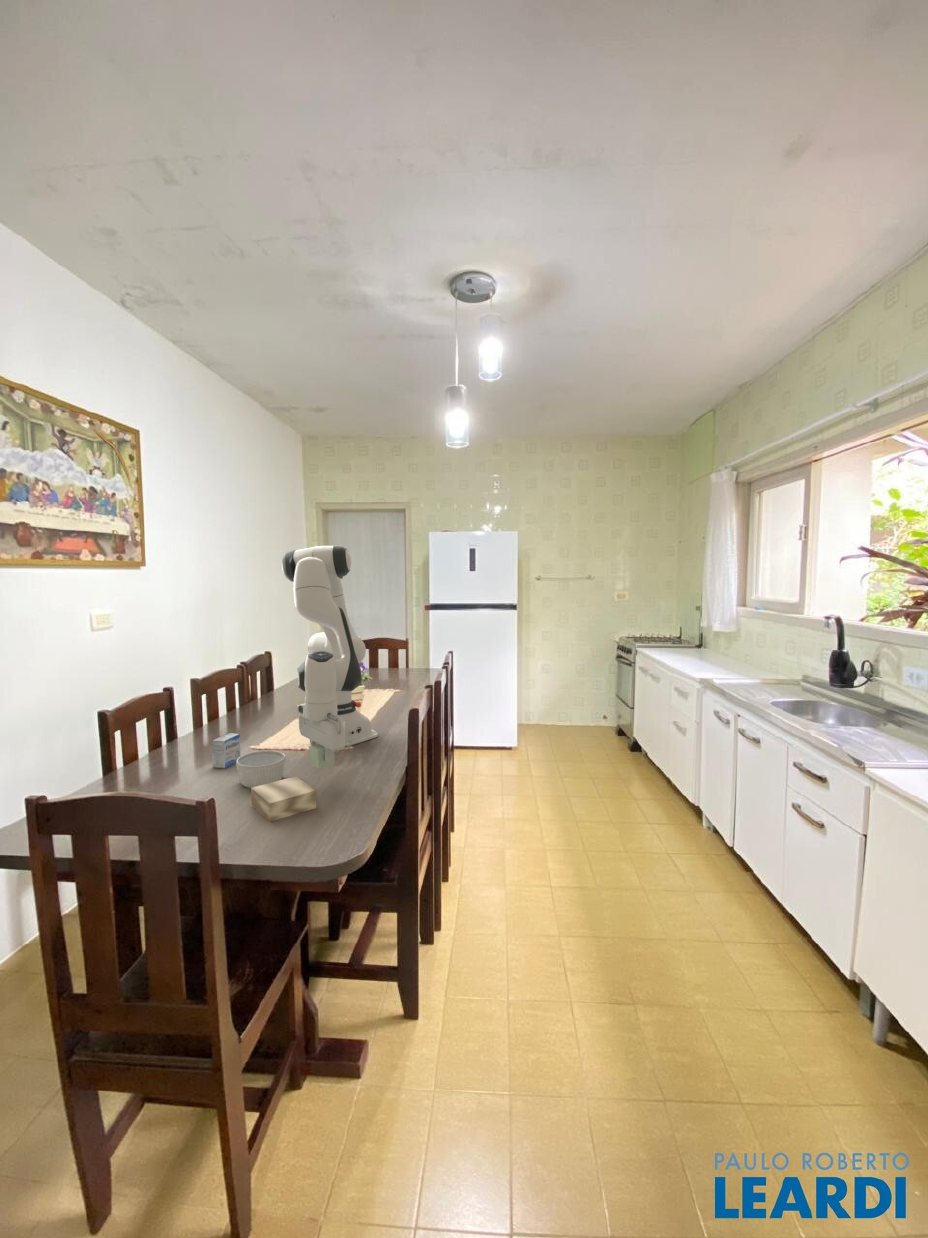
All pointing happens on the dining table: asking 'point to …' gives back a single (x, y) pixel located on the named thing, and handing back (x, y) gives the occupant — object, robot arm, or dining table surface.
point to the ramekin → (260, 767)
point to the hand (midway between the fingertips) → (321, 757)
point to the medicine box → (225, 750)
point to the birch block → (283, 798)
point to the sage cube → (319, 756)
